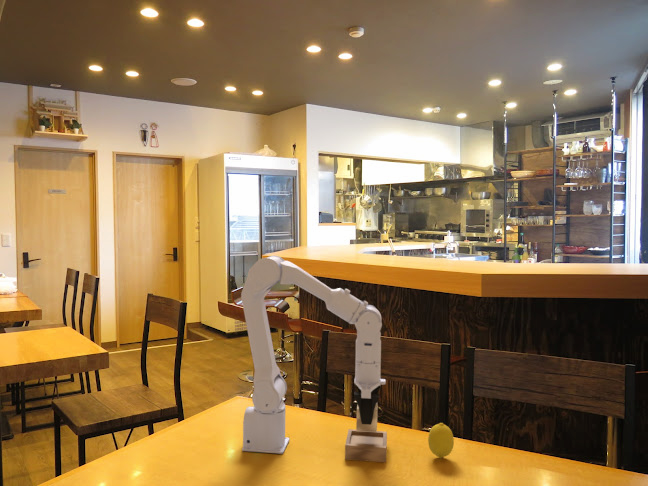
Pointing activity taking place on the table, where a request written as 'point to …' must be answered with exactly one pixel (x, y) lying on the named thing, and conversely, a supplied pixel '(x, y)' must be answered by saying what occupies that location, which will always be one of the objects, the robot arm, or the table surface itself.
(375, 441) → the tray
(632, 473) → the table surface
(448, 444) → the lemon
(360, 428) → the block
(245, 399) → the table surface
